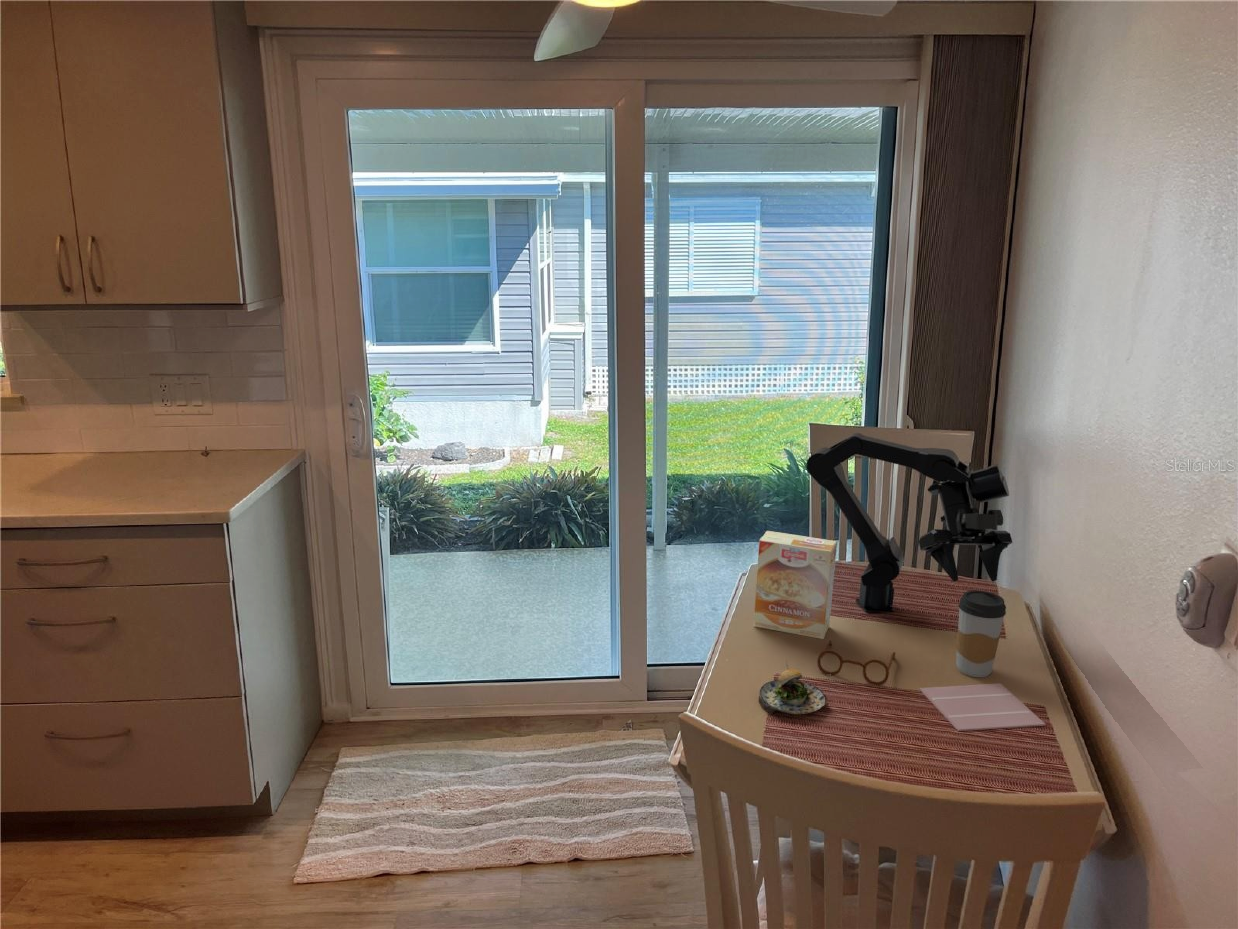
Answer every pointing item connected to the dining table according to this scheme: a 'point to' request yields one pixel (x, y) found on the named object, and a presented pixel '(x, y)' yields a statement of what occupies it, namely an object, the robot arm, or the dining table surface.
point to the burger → (791, 695)
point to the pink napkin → (981, 707)
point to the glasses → (855, 664)
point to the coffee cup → (979, 631)
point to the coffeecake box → (794, 584)
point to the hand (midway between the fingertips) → (975, 581)
